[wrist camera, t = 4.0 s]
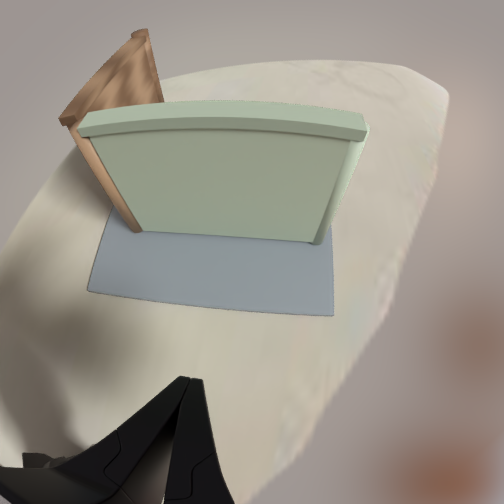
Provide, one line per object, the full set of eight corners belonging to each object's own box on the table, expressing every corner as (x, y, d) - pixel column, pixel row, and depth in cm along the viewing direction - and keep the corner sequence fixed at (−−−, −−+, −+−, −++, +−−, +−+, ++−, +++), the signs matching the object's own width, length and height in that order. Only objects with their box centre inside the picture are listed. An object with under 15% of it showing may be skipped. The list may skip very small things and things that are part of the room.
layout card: (332, 316, 23) (334, 314, 23) (89, 291, 24) (86, 289, 23) (320, 131, 33) (321, 128, 32) (149, 126, 34) (148, 123, 33)
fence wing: (323, 246, 25) (374, 132, 13) (129, 233, 26) (63, 131, 14) (322, 231, 26) (368, 115, 14) (133, 219, 27) (74, 115, 14)
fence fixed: (134, 218, 27) (73, 110, 14) (119, 218, 27) (55, 114, 14) (171, 120, 33) (150, 27, 21) (158, 121, 34) (135, 30, 21)
